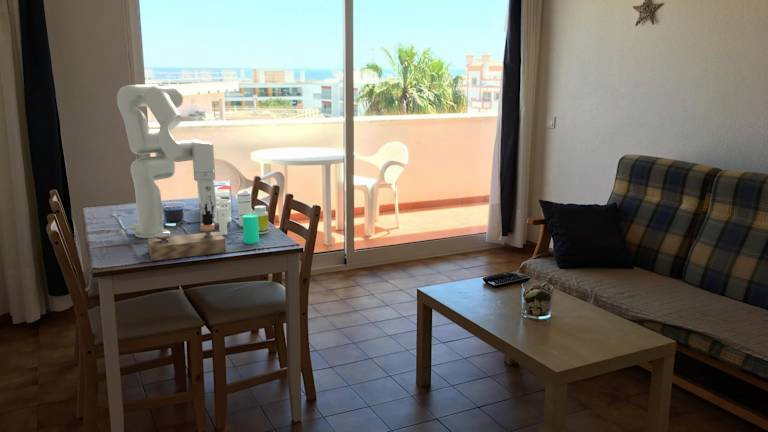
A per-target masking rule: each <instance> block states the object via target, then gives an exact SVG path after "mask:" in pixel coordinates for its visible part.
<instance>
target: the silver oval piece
mask: <svg viewBox="0 0 768 432" xmlns="http://www.w3.org/2000/svg"><path fill="white" fill-rule="evenodd" d="M170 237H171V230H168V229H166V230H163V231H157V232H156V238H157V239H161V243H163V242H166V239H168V238H170Z"/></svg>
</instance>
